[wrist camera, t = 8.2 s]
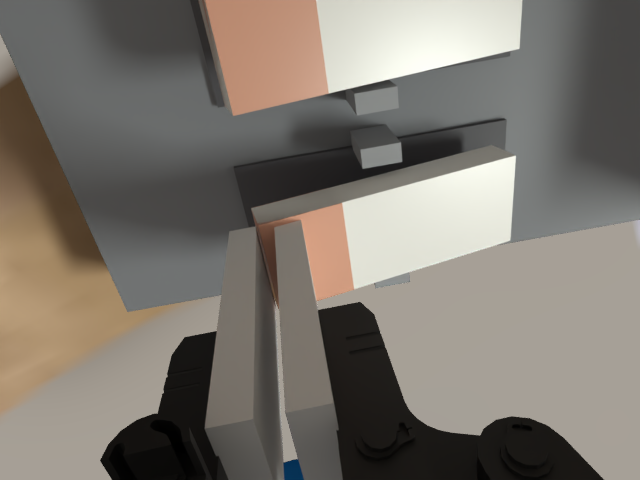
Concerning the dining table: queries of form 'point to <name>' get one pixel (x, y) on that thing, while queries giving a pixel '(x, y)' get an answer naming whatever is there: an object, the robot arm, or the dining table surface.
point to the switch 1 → (345, 43)
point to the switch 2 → (396, 220)
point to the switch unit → (313, 129)
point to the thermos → (292, 470)
